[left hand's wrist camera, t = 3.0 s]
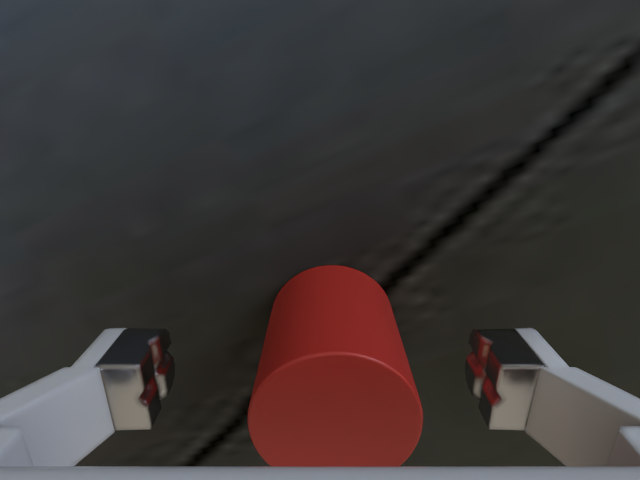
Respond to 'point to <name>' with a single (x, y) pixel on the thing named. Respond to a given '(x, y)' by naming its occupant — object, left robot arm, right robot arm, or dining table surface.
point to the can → (334, 376)
